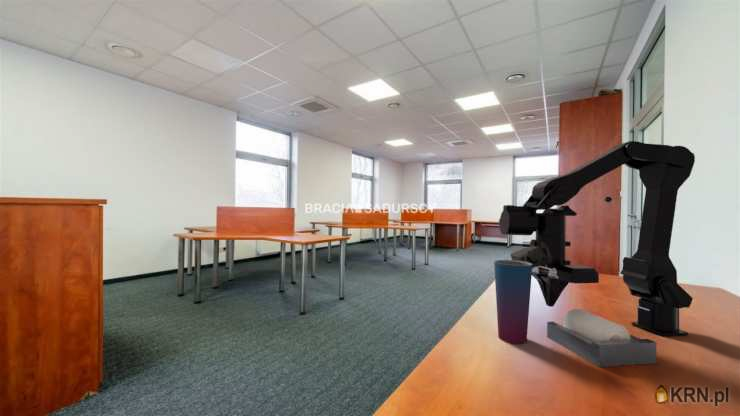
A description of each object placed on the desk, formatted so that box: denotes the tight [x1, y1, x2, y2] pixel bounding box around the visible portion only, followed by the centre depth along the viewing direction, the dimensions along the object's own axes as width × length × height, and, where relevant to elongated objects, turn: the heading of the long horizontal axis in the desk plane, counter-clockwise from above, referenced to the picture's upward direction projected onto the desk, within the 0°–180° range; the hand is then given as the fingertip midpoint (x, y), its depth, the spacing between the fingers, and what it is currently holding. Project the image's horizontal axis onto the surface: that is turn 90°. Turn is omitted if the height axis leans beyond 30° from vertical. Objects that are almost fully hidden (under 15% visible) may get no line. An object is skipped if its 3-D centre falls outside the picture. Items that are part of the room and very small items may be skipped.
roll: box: [562, 308, 631, 341], centre depth 53 cm, size 8×6×6 cm
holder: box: [546, 321, 658, 368], centre depth 53 cm, size 11×11×4 cm
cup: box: [493, 259, 533, 345], centre depth 57 cm, size 7×7×15 cm
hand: (549, 306), depth 64 cm, fingers closed
